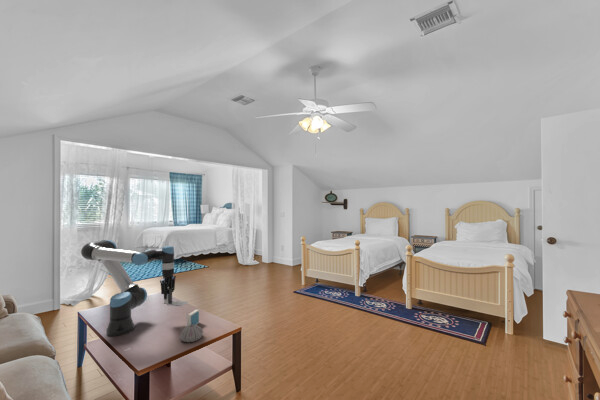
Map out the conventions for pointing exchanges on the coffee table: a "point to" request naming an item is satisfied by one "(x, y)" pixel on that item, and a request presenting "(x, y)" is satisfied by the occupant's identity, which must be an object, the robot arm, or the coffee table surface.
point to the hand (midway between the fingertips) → (168, 302)
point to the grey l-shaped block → (174, 303)
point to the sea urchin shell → (191, 333)
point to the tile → (193, 318)
